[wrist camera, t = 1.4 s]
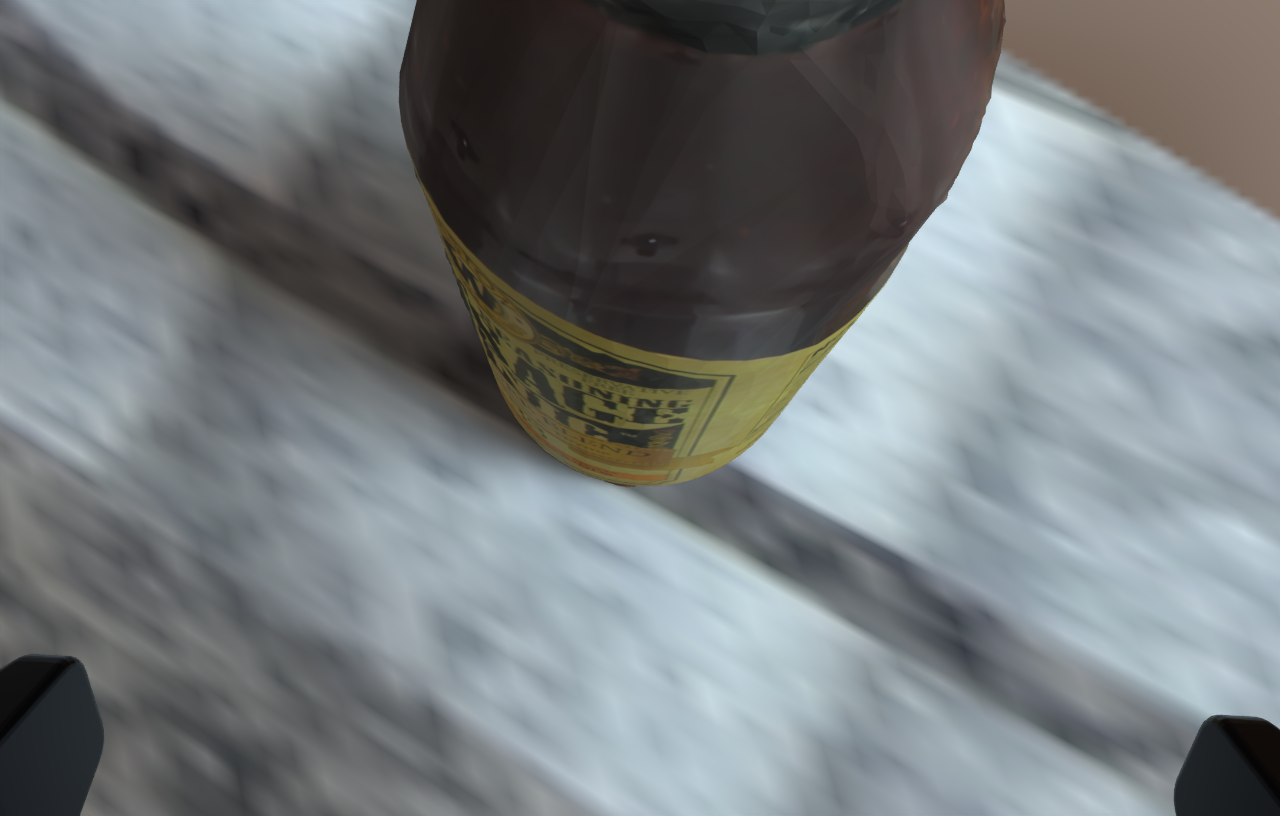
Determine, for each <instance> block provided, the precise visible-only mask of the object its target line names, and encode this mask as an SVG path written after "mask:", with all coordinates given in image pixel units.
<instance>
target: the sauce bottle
mask: <svg viewBox="0 0 1280 816" xmlns="http://www.w3.org/2000/svg"><path fill="white" fill-rule="evenodd" d="M1005 22H1006V19H1005V6H1004V0H417V2H416V6H415V11H414V15H413V19H412V23H411V27H410V32H409V36H408V40H407V44H406V49H405V53H404V57H403V61H402V65H401V70H400V83H399V107H400V115H401V123H402V127H403V131H404V136H405V140H406V145H407V148H408V151H409V153H410V156H411V159H412V162H413V165H414V169H415V174H416V177H417V179H418V181H419V183H420V184H421V186H422V189H423V191H424V194H425V196H426V199H427V202H428V204H429V207H430V210H431V213H432V215H433V218H434V220H435V223H436V225H437V228H438V231H439V234H440V237H441V239H442V242H443V245H444V247H445V253H446V257H447V259H448V261H449V263H450V265H451V267H452V271H453V274H454V276H455V278H456V280H457V284H458V286H459V288H460V293H461V296H462V298H463V300H464V303H465V305H466V307H467V309H468V311H469V312H470V316H471V319H472V323H473V325H474V328H475V330H476V332H477V334H478V336H479V338H480V341H481V343H482V345H483V348H484V350H485V353H486V356H487V358H488V361H489V364H490V366H491V369H492V371H493V374H494V376H495V379H496V381H497V384H498V386H499V389H500V392H501V393H502V395H503V397H504V399H505V401H506V403H507V405H508V407H509V408H510V410H511V412H512V413H513V415H514V416H515V418H516V419H517V421H518V422H519V423H520V424H521V426H522V427H523V428H524V430H525V431H526V432H527V433H528V434H529V435H530V436H531V437H532V438H533V439H534V440H535V441H536V442H537V443H538V444H539V445H540V446H541V447H542V448H543V449H544V450H545V451H546V452H547V453H549V454H550V455H552V456H553V457H555V458H556V459H558V460H559V461H561V462H563V463H564V464H566V465H567V466H569V467H571V468H572V469H574V470H576V471H578V472H581V473H583V474H586V475H588V476H591V477H594V478H598V479H601V480H604V481H606V482H609V483H612V484H615V485H618V486H624V487H631V486H633V487H635V486H660V485H670V484H676V483H680V482H684V481H689V480H693V479H696V478H698V477H701V476H703V475H705V474H708V473H710V472H712V471H714V470H716V469H718V468H720V467H722V466H723V465H725V464H727V463H729V462H730V461H732V460H733V459H735V458H736V457H738V456H739V455H741V454H742V453H743V452H744V451H746V450H747V449H748V448H749V447H751V446H752V445H753V444H754V443H755V442H756V441H757V440H758V439H759V438H760V437H761V436H762V435H763V434H764V433H765V432H766V430H767V429H768V428H769V427H770V426H771V424H772V423H773V422H774V421H775V420H776V418H777V417H778V416H779V415H780V413H781V412H782V411H783V410H784V408H785V407H786V406H787V405H788V403H789V402H790V401H791V400H792V398H793V397H794V395H795V394H796V393H797V392H798V390H799V389H800V388H801V387H802V385H803V384H804V383H805V382H806V380H807V379H808V378H809V376H810V375H811V374H812V373H813V371H814V370H815V369H816V367H817V366H818V365H819V364H820V363H821V361H822V360H823V359H824V358H825V357H826V355H827V354H828V353H829V352H830V351H831V350H832V348H833V347H834V346H835V345H836V344H837V342H838V341H839V340H840V339H841V338H842V336H843V335H844V334H845V333H846V331H847V330H848V329H849V328H850V327H851V326H852V325H853V324H854V323H855V321H856V320H857V319H858V318H859V316H860V315H861V314H862V312H863V311H864V310H865V308H866V307H867V306H868V305H869V304H870V302H871V301H872V300H873V299H874V297H875V296H876V295H877V294H878V293H879V291H880V290H881V289H882V288H883V287H884V285H885V284H886V283H887V281H888V279H889V278H890V276H891V275H892V273H893V271H894V270H895V268H896V266H897V265H898V263H899V261H900V260H901V258H902V256H903V255H904V253H905V251H906V250H907V247H908V244H909V242H910V241H911V239H912V238H913V237H914V236H915V234H916V233H917V232H918V230H919V229H920V228H921V227H922V225H923V224H924V223H925V222H926V220H927V219H928V218H929V217H930V215H931V214H932V213H933V212H934V210H935V209H936V208H937V207H938V206H939V205H941V204H942V203H943V202H944V201H945V200H946V199H947V196H948V191H949V190H950V188H951V187H952V186H953V184H954V181H955V179H956V178H957V176H958V174H959V172H960V170H961V167H962V165H963V163H964V161H965V159H966V158H967V156H968V154H969V153H970V151H971V148H972V145H973V142H974V140H975V139H976V137H977V135H978V133H979V130H980V127H981V123H982V118H983V116H984V115H985V112H986V106H987V104H988V102H989V101H990V99H991V90H992V83H993V79H994V74H995V70H996V67H997V63H998V60H999V57H1000V53H1001V45H1002V36H1003V28H1004V25H1005Z"/></svg>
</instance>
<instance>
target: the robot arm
mask: <svg viewBox="0 0 1280 816" xmlns="http://www.w3.org/2000/svg"><path fill="white" fill-rule="evenodd" d="M103 743H104V729H103V723H102V720H101V717H100V714H99V711H98V707H97V704H96V701H95V698H94V695H93V691H92V688H91V685H90V682H89V679H88V675H87V672H86V670H85V667H84V665H83V664H82V663H81V662H80V661H79V660H78V659H77V658H75V657H72V656H60V655H40V654H30V655H25V656H22V657H19V658H18V659H16V660H14V661H12V662H11V663H9V664H8V665H6V666H4V667H3V668H1V669H0V816H80V813H81V811H82V808H83V805H84V802H85V800H86V797H87V794H88V791H89V788H90V786H91V783H92V780H93V777H94V774H95V772H96V769H97V766H98V763H99V761H100V757H101V754H102V749H103ZM1174 806H1175V812H1176V816H1280V729H1279V728H1278V727H1276V726H1275V725H1273V724H1272V723H1270V722H1269V721H1267V720H1265V719H1262V718H1259V717H1251V716H1231V715H1214V716H1211V717H1209V718H1208V719H1207V720H1205V721H1204V722H1203V724H1202V725H1201V727H1200V729H1199V731H1198V734H1197V736H1196V738H1195V740H1194V742H1193V744H1192V747H1191V749H1190V751H1189V753H1188V755H1187V758H1186V760H1185V762H1184V764H1183V766H1182V768H1181V771H1180V773H1179V775H1178V777H1177V780H1176V783H1175V788H1174Z"/></svg>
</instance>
